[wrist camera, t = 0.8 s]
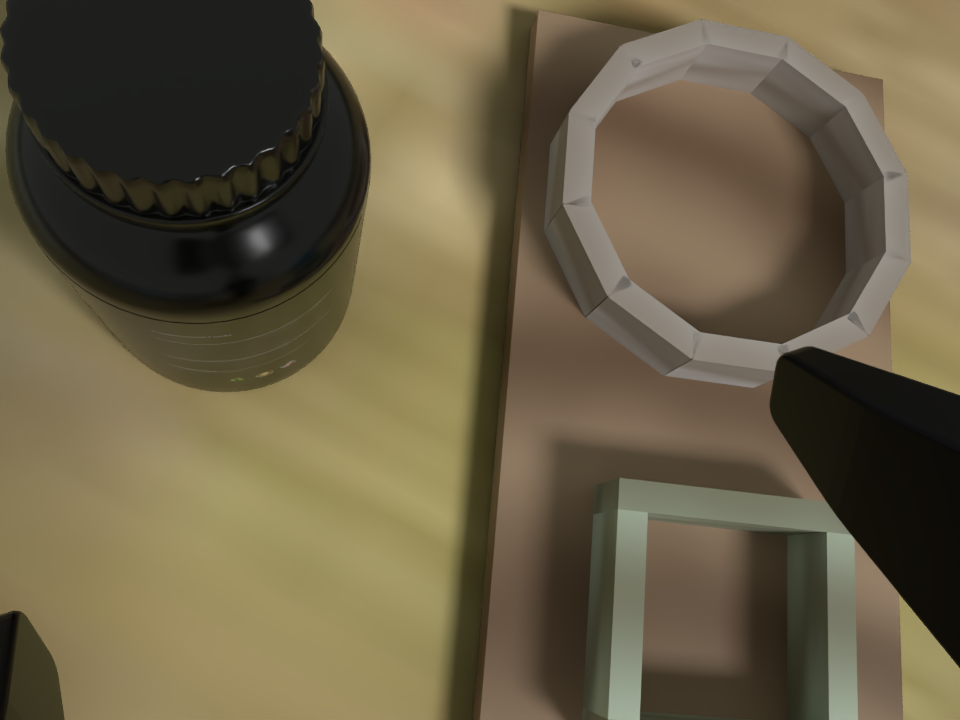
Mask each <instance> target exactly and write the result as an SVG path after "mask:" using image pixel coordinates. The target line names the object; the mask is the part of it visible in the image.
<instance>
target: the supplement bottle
mask: <svg viewBox="0 0 960 720" xmlns="http://www.w3.org/2000/svg"><path fill="white" fill-rule="evenodd" d="M6 8H7V14H8V16H7V18H6V20H5V21H4V22H3V24H2V26H1V28H0V33H1V36H2V40H3V42H4V46H3V49H2V53H1V57H0V58H1V63H2V65H3V67H4V69H5V70H6V72H7V74H8V88H9V92H10V94H11V95H12V97H13V99H14V100H13V103H12V107H11V111H10V114H9V119H8V125H7V132H6V150H5V151H6V164H7V172H8V177H9V182H10V187H11V190H12V193H13V197H14V200H15V203H16V205H17V207H18V210H19V212H20V214H21V217H22V219H23V220H24V222H25V224H26V226H27V227H28V229H29V231H30V232H31V234H32V236H33V237H34V239H35V240H36V242H37V243H38V245H39V246H40V248H41V249H42V250H43V252H44V253H45V254H46V256H47V257H48V258H49V260H50V261H51V262H52V263H53V264H54V265H55V267H56V268H57V269H58V270H59V271H60V272H61V274H62V275H63V276H64V277H65V278H66V279H67V281H68V282H69V283H70V284H71V285H72V286H73V288H74V289H75V290H76V291H77V292H78V293H79V294H80V296H81V297H82V298H83V299H84V300H85V301H86V303H87V304H88V305H89V306H90V307H91V308H92V310H93V311H94V312H95V313H96V314H97V315H98V317H99V318H100V319H101V320H102V321H103V322H104V324H105V325H106V326H107V327H108V328H109V329H110V331H111V332H112V333H113V334H114V335H115V336H116V337H117V339H118V340H119V341H120V342H121V343H122V344H123V345H124V346H125V347H126V348H127V349H128V350H129V351H130V352H131V353H132V354H133V355H134V356H135V357H136V358H137V359H138V360H139V361H140V362H142V363H143V364H144V365H146V366H147V367H149V368H150V369H151V370H153V371H155V372H156V373H158V374H160V375H161V376H163V377H165V378H167V379H169V380H172V381H174V382H176V383H179V384H182V385H184V386H187V387H191V388H195V389H199V390H206V391H213V392H239V391H247V390H253V389H257V388H261V387H265V386H268V385H271V384H274V383H276V382H279V381H281V380H283V379H285V378H287V377H289V376H291V375H293V374H294V373H296V372H298V371H299V370H301V369H302V368H303V367H305V366H306V365H308V364H309V363H310V362H311V361H312V360H313V359H315V358H316V357H317V356H318V355H319V354H320V353H321V352H322V351H323V350H324V348H325V347H326V346H327V345H328V343H329V342H330V341H331V339H332V338H333V336H334V335H335V333H336V332H337V330H338V328H339V326H340V324H341V322H342V320H343V318H344V315H345V313H346V310H347V308H348V304H349V300H350V296H351V292H352V286H353V280H354V274H355V269H356V263H357V257H358V251H359V245H360V238H361V232H362V226H363V220H364V214H365V208H366V202H367V196H368V190H369V183H370V171H371V153H370V140H369V134H368V128H367V124H366V120H365V116H364V113H363V110H362V108H361V105H360V102H359V100H358V97H357V95H356V93H355V91H354V89H353V87H352V85H351V83H350V81H349V80H348V78H347V76H346V75H345V73H344V72H343V70H342V68H341V67H340V66H339V65H338V63H337V62H336V61H335V59H334V58H333V57H332V56H331V54H330V53H329V52H328V51H327V50H326V49H325V48H324V47H323V46H322V31H321V29H320V27H319V25H318V23H317V22H316V20H315V19H314V8H313V5H312V3H311V1H310V0H7V2H6Z"/></svg>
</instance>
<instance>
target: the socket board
mask: <svg viewBox="0 0 960 720" xmlns="http://www.w3.org/2000/svg"><path fill="white" fill-rule="evenodd" d="M910 262H911V250H910V225H909V199H908V175H907V172H906V170H905V169H904V167H903V165H902V163H901V161H900V159H899V158H898V156H897V154H896V152H895V150H894V149H893V147H892V145H891V143H890V141H889V140H888V138H887V136H886V134H885V132H884V104H883V80H882V79H877V78H872V77H867V76H862V75H857V74H852V73H847V72H842V71H837V70H832V69H830V68H829V67H828V66H826V65H825V64H824V63H822V62H821V61H820V60H818V59H817V58H816V57H814V56H813V55H812V54H810V53H809V52H808V51H806V50H805V49H804V48H802V47H801V46H800V45H798V44H797V43H796V42H794V41H793V40H792V39H790V38H788V37H785V36H781V35H776V34H771V33H766V32H761V31H757V30H752V29H747V28H742V27H737V26H733V25H728V24H723V23H718V22H713V21H709V20H704V19H702V20H701V19H700V20H697V21H694V22H691V23H688V24H684V25H681V26H678V27H675V28H672V29H669V30H666V31H663V32H660V33H651V32H646V31H641V30H636V29H631V28H626V27H621V26H616V25H611V24H606V23H602V22H597V21H592V20H587V19H582V18H577V17H572V16H567V15H562V14H557V13H552V12H547V11H543V10H538V12H537V15H536V17H535V19H534V22H533V24H532V27H531V32H530V43H529V55H528V67H527V79H526V91H525V103H524V114H523V126H522V138H521V150H520V162H519V174H518V186H517V197H516V209H515V221H514V233H513V245H512V257H511V269H510V280H509V292H508V304H507V316H506V328H505V340H504V351H503V363H502V375H501V387H500V399H499V411H498V423H497V434H496V446H495V458H494V470H493V482H492V494H491V506H490V517H489V529H488V541H487V553H486V565H485V577H484V588H483V600H482V612H481V624H480V636H479V648H478V660H477V671H476V683H475V695H474V707H473V719H472V720H903V704H902V672H901V641H900V609H899V593H898V592H897V590H896V589H895V588H894V587H893V586H892V584H891V583H890V582H889V581H888V579H887V578H886V577H885V576H884V575H883V573H882V572H881V571H880V570H879V568H878V567H877V566H876V565H875V564H874V562H873V561H872V560H871V559H870V557H869V556H868V555H867V554H866V552H865V551H864V550H863V549H862V548H861V546H860V545H859V544H858V543H857V541H856V540H855V539H854V538H853V537H852V535H851V534H850V533H849V532H848V530H847V529H846V528H845V526H844V525H843V524H842V523H841V521H840V520H839V519H838V517H837V516H836V515H835V513H834V512H833V511H832V509H831V508H830V506H829V505H828V503H827V502H826V501H825V499H824V498H823V496H822V494H821V493H820V491H819V490H818V488H817V487H816V485H815V484H814V482H813V481H812V479H811V478H810V476H809V475H808V473H807V472H806V470H805V469H804V467H803V465H802V464H801V462H800V461H799V459H798V458H797V456H796V455H795V453H794V452H793V450H792V449H791V447H790V446H789V444H788V443H787V441H786V440H785V438H784V436H783V435H782V433H781V432H780V430H779V429H778V427H777V426H776V424H775V422H774V421H773V418H772V416H771V413H770V407H769V401H770V395H771V389H772V384H773V378H774V372H775V366H776V362H777V360H778V359H779V357H780V356H781V355H782V354H784V353H787V352H790V351H793V350H796V349H799V348H802V347H806V346H813V347H816V348H820V349H823V350H826V351H829V352H832V353H835V354H838V355H841V356H844V357H847V358H850V359H853V360H856V361H859V362H862V363H865V364H868V365H871V366H874V367H877V368H880V369H883V370H886V371H889V372H892V357H891V325H890V298H891V297H892V295H893V293H894V291H895V289H896V288H897V286H898V284H899V282H900V281H901V279H902V277H903V275H904V274H905V272H906V270H907V268H908V267H909V265H910Z"/></svg>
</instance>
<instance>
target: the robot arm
mask: <svg viewBox="0 0 960 720" xmlns="http://www.w3.org/2000/svg"><path fill="white" fill-rule="evenodd" d="M769 407H770V413H771V416H772V418H773V421H774V422H775V424H776V426H777V427H778V429H779V430H780V432H781V433H782V435H783V436H784V438H785V440H786V441H787V443H788V444H789V446H790V447H791V449H792V450H793V452H794V453H795V455H796V456H797V458H798V459H799V461H800V462H801V464H802V465H803V467H804V469H805V470H806V472H807V473H808V475H809V476H810V478H811V479H812V481H813V482H814V484H815V485H816V487H817V488H818V490H819V491H820V493H821V494H822V496H823V498H824V499H825V501H826V502H827V503H828V505H829V506H830V508H831V509H832V511H833V512H834V513H835V515H836V516H837V517H838V519H839V520H840V521H841V523H842V524H843V525H844V526H845V528H846V529H847V530H848V532H849V533H850V534H851V535H852V537H853V538H854V539H855V540H856V541H857V543H858V544H859V545H860V546H861V548H862V549H863V550H864V551H865V552H866V554H867V555H868V556H869V557H870V559H871V560H872V561H873V562H874V564H875V565H876V566H877V567H878V568H879V570H880V571H881V572H882V573H883V575H884V576H885V577H886V578H887V579H888V581H889V582H890V583H891V584H892V586H893V587H894V588H895V589H896V590H897V592H898V593H899V594H900V595H901V597H902V598H903V599H904V600H905V602H906V603H907V604H908V605H909V606H910V608H911V609H912V610H913V611H914V613H915V614H916V615H917V616H918V617H919V619H920V620H921V621H922V622H923V624H924V625H925V626H926V627H927V628H928V630H929V631H930V632H931V633H932V635H933V636H934V637H935V638H936V640H937V641H938V642H939V643H940V644H941V646H942V647H943V648H944V649H945V651H946V652H947V653H948V654H949V655H950V657H951V658H952V659H953V660H954V662H955V663H956V664H957V665H958V667H959V668H960V395H957V394H954V393H951V392H948V391H945V390H942V389H939V388H936V387H934V386H931V385H928V384H925V383H922V382H919V381H916V380H913V379H910V378H907V377H904V376H901V375H898V374H895V373H892V372H889V371H886V370H883V369H880V368H877V367H874V366H871V365H868V364H865V363H862V362H859V361H856V360H853V359H850V358H847V357H844V356H841V355H838V354H835V353H832V352H829V351H826V350H823V349H820V348H816V347H813V346H806V347H802V348H799V349H796V350H793V351H790V352H787V353H784V354H782V355H781V356H780V357H779V359H778V360H777V362H776V366H775V372H774V378H773V384H772V389H771V395H770V401H769ZM0 720H65V719H64V712H63V705H62V698H61V691H60V684H59V677H58V672H57V668H56V665H55V662H54V660H53V657H52V655H51V654H50V652H49V650H48V649H47V647H46V646H45V644H44V643H43V641H42V639H41V638H40V636H39V635H38V633H37V632H36V630H35V629H34V627H33V625H32V624H31V622H30V621H29V619H28V618H27V616H26V615H25V614H24V613H22V612H21V611H11V612H8V613H5V614H2V615H0Z"/></svg>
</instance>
